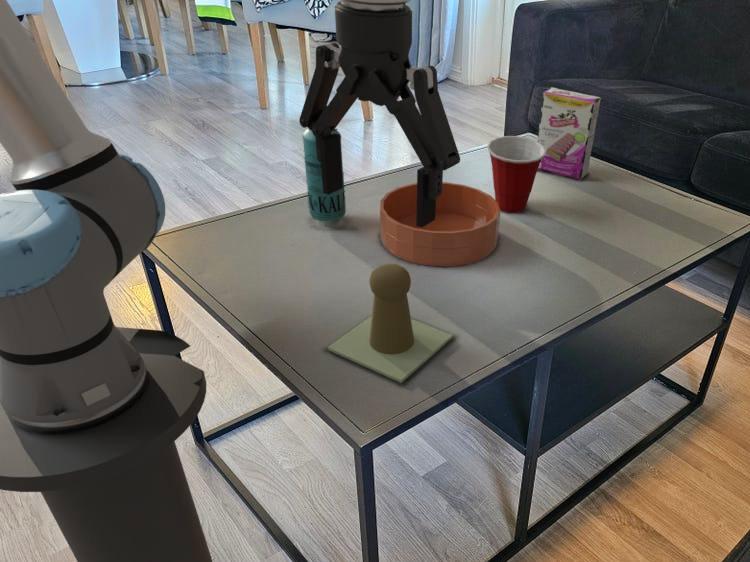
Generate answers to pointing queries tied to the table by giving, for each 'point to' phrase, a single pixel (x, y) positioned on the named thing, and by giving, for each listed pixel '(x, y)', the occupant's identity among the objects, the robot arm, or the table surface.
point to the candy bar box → (567, 131)
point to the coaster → (390, 364)
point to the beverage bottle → (321, 184)
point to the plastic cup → (514, 170)
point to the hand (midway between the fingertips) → (378, 206)
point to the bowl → (440, 226)
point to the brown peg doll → (390, 310)
